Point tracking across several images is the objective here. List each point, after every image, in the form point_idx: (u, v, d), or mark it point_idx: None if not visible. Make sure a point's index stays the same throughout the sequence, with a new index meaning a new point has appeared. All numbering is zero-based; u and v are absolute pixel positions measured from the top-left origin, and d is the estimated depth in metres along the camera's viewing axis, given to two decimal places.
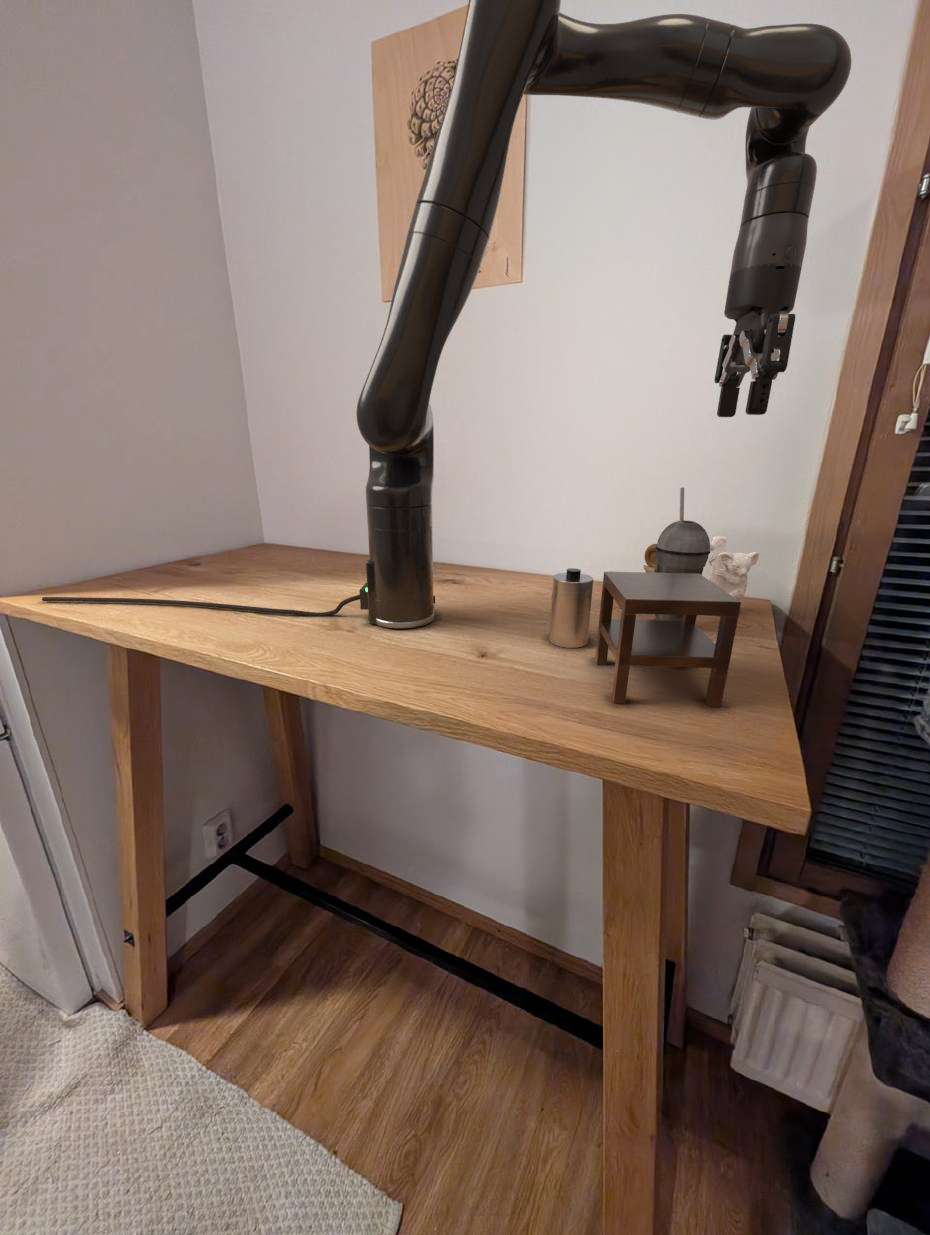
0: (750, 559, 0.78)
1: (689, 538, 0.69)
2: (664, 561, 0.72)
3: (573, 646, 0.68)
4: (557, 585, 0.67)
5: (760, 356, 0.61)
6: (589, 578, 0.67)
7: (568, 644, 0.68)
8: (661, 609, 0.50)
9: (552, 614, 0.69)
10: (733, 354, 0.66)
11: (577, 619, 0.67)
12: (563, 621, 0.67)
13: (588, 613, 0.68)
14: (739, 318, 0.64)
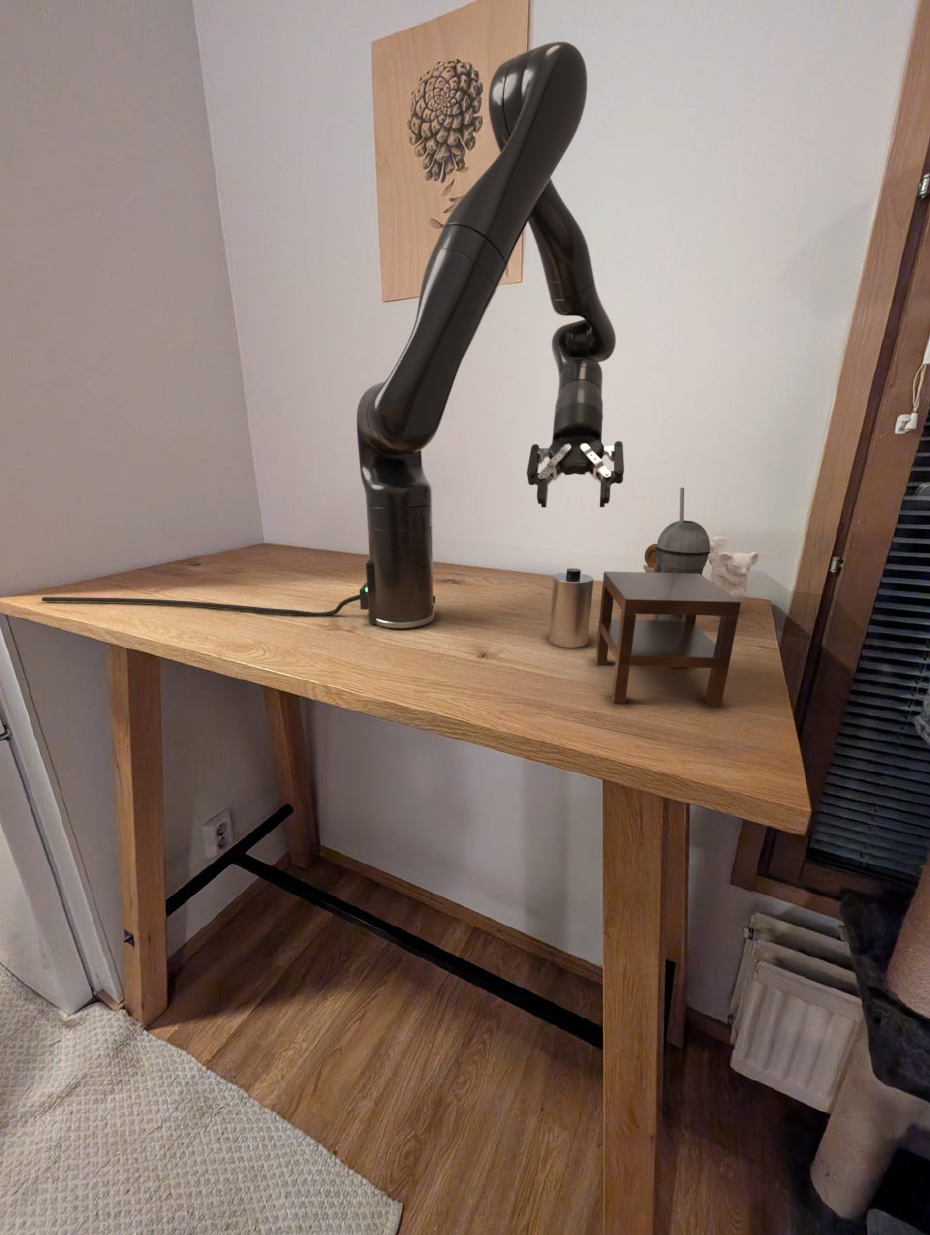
0: (750, 559, 0.78)
1: (689, 538, 0.69)
2: (664, 561, 0.72)
3: (573, 646, 0.68)
4: (557, 585, 0.67)
5: None
6: (589, 578, 0.67)
7: (568, 644, 0.68)
8: (661, 609, 0.50)
9: (552, 614, 0.69)
10: (563, 458, 0.78)
11: (577, 619, 0.67)
12: (563, 621, 0.67)
13: (588, 613, 0.68)
14: (566, 436, 0.79)
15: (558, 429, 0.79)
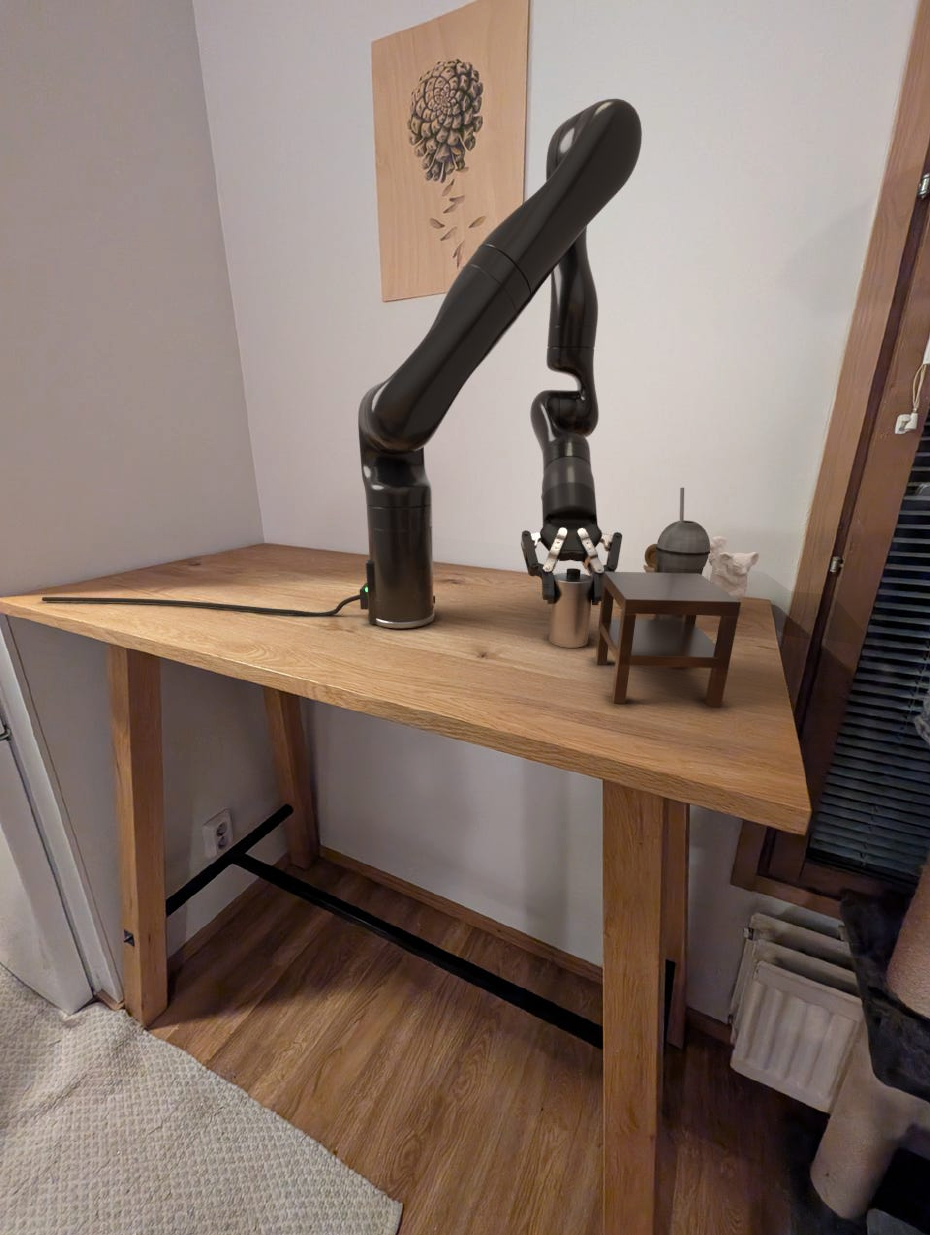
0: (750, 559, 0.78)
1: (689, 538, 0.69)
2: (664, 561, 0.72)
3: (573, 646, 0.68)
4: (557, 585, 0.67)
5: None
6: (589, 578, 0.67)
7: (568, 644, 0.68)
8: (661, 609, 0.50)
9: (552, 614, 0.69)
10: None
11: (577, 619, 0.67)
12: (563, 621, 0.67)
13: (588, 613, 0.68)
14: (560, 518, 0.71)
15: (552, 510, 0.70)
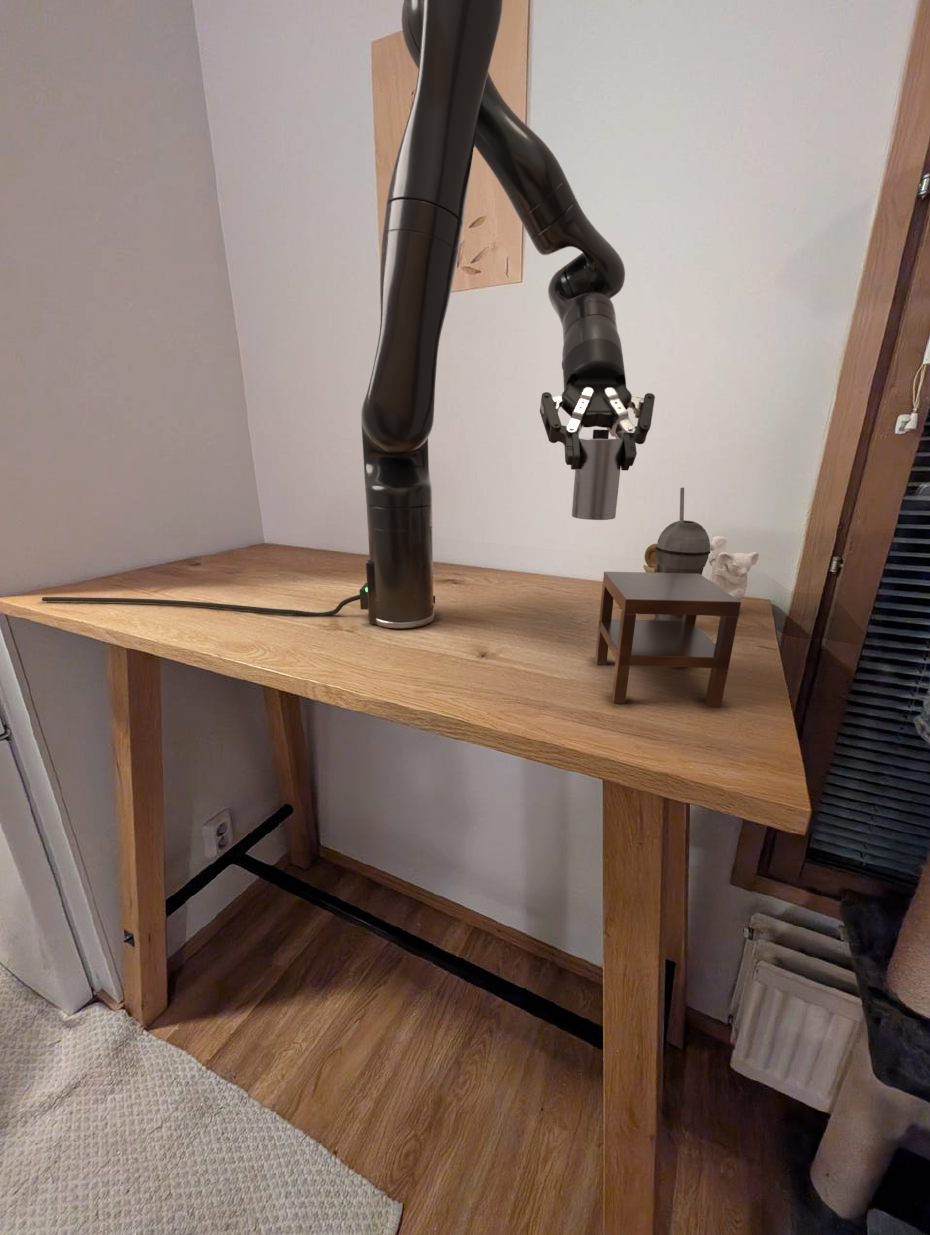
0: (750, 559, 0.78)
1: (689, 538, 0.69)
2: (664, 561, 0.72)
3: (600, 518, 0.60)
4: (583, 445, 0.59)
5: None
6: None
7: (594, 515, 0.60)
8: (661, 609, 0.50)
9: (576, 483, 0.61)
10: None
11: (605, 484, 0.59)
12: (589, 487, 0.60)
13: (617, 479, 0.60)
14: (584, 379, 0.63)
15: (575, 369, 0.62)
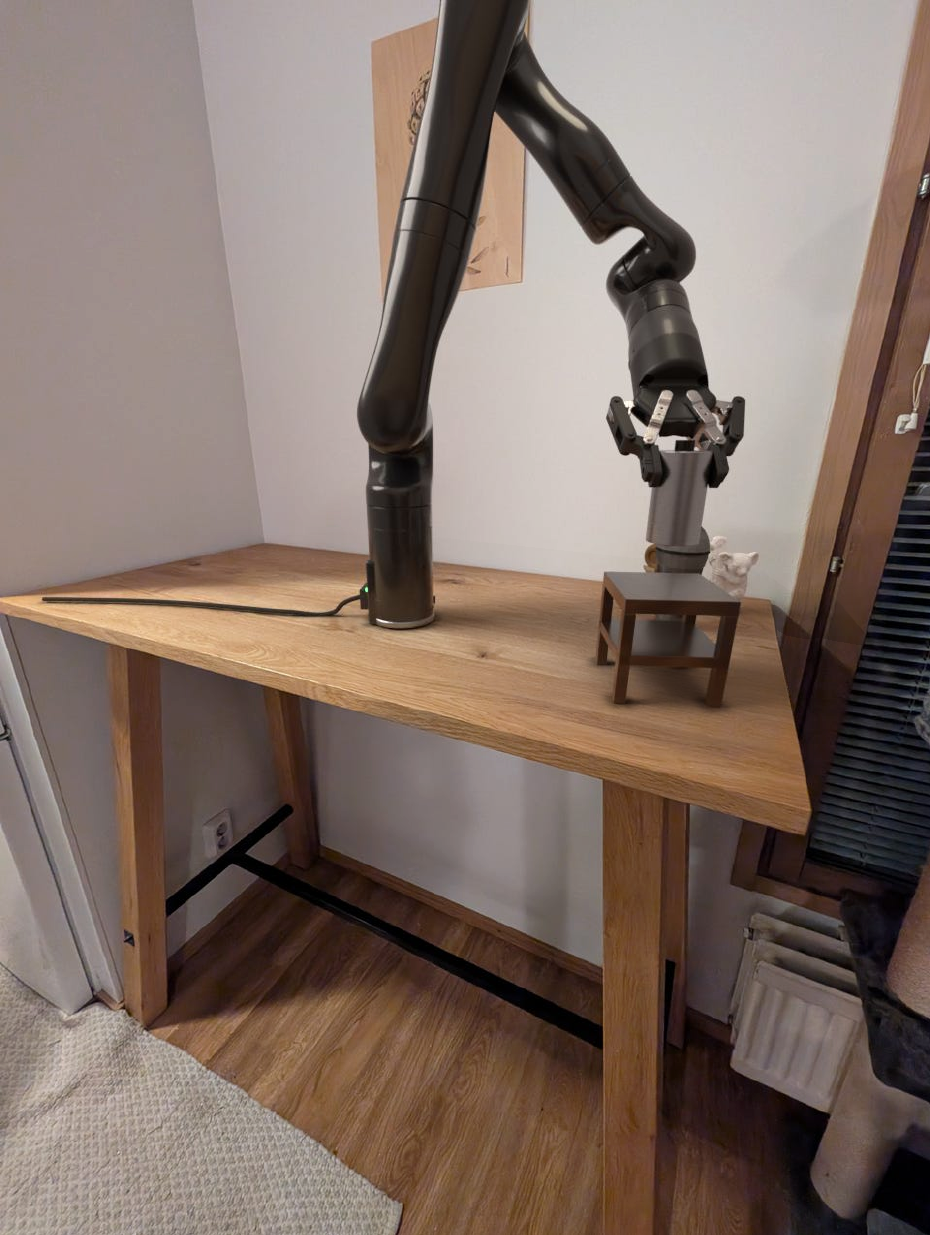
0: (750, 559, 0.78)
1: None
2: (664, 561, 0.72)
3: (683, 544, 0.51)
4: (665, 459, 0.50)
5: None
6: None
7: (677, 541, 0.51)
8: (661, 609, 0.50)
9: (654, 503, 0.52)
10: None
11: (692, 505, 0.50)
12: (671, 508, 0.50)
13: (704, 498, 0.51)
14: (660, 381, 0.54)
15: (651, 369, 0.53)
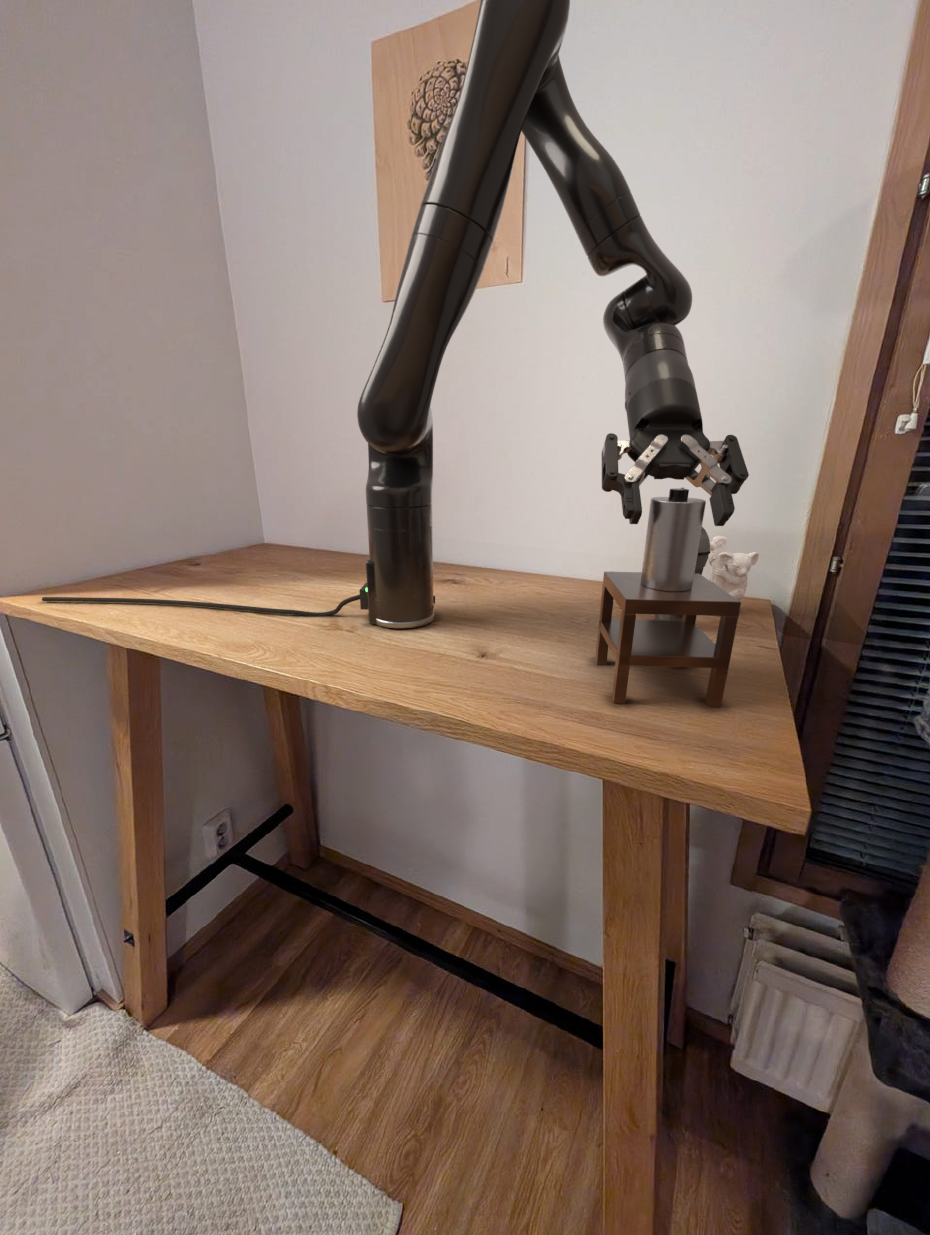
0: (750, 559, 0.78)
1: None
2: None
3: (677, 589, 0.53)
4: (659, 508, 0.51)
5: None
6: (700, 500, 0.52)
7: (671, 587, 0.53)
8: (661, 609, 0.50)
9: (649, 549, 0.53)
10: (658, 454, 0.54)
11: (685, 553, 0.52)
12: (665, 555, 0.52)
13: (697, 546, 0.52)
14: (656, 424, 0.55)
15: (646, 413, 0.55)
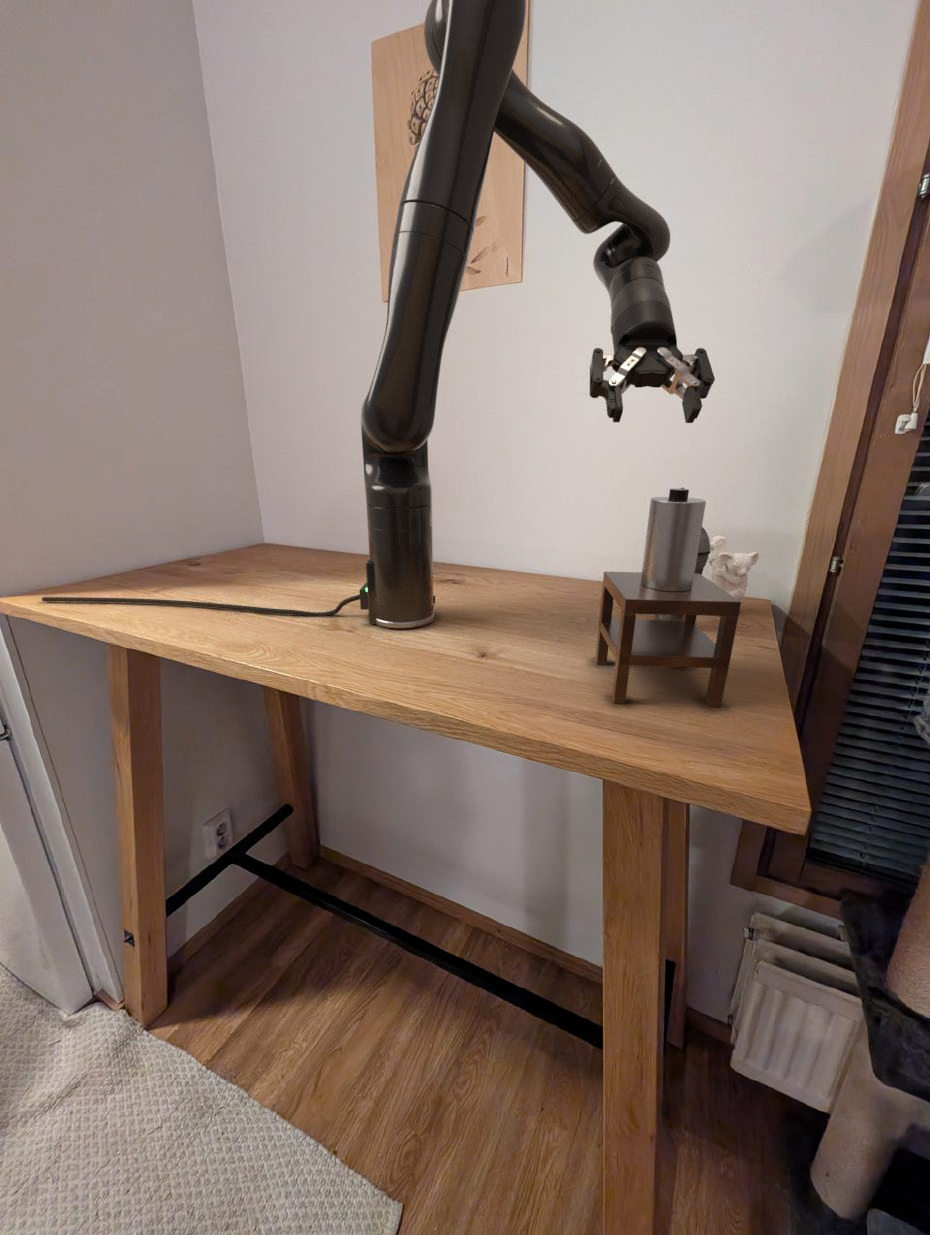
0: (750, 559, 0.78)
1: None
2: None
3: (677, 589, 0.53)
4: (659, 508, 0.51)
5: None
6: (700, 500, 0.52)
7: (671, 587, 0.53)
8: (661, 609, 0.50)
9: (649, 549, 0.53)
10: (637, 363, 0.62)
11: (685, 553, 0.52)
12: (665, 555, 0.52)
13: (697, 546, 0.52)
14: (636, 340, 0.64)
15: (628, 330, 0.63)
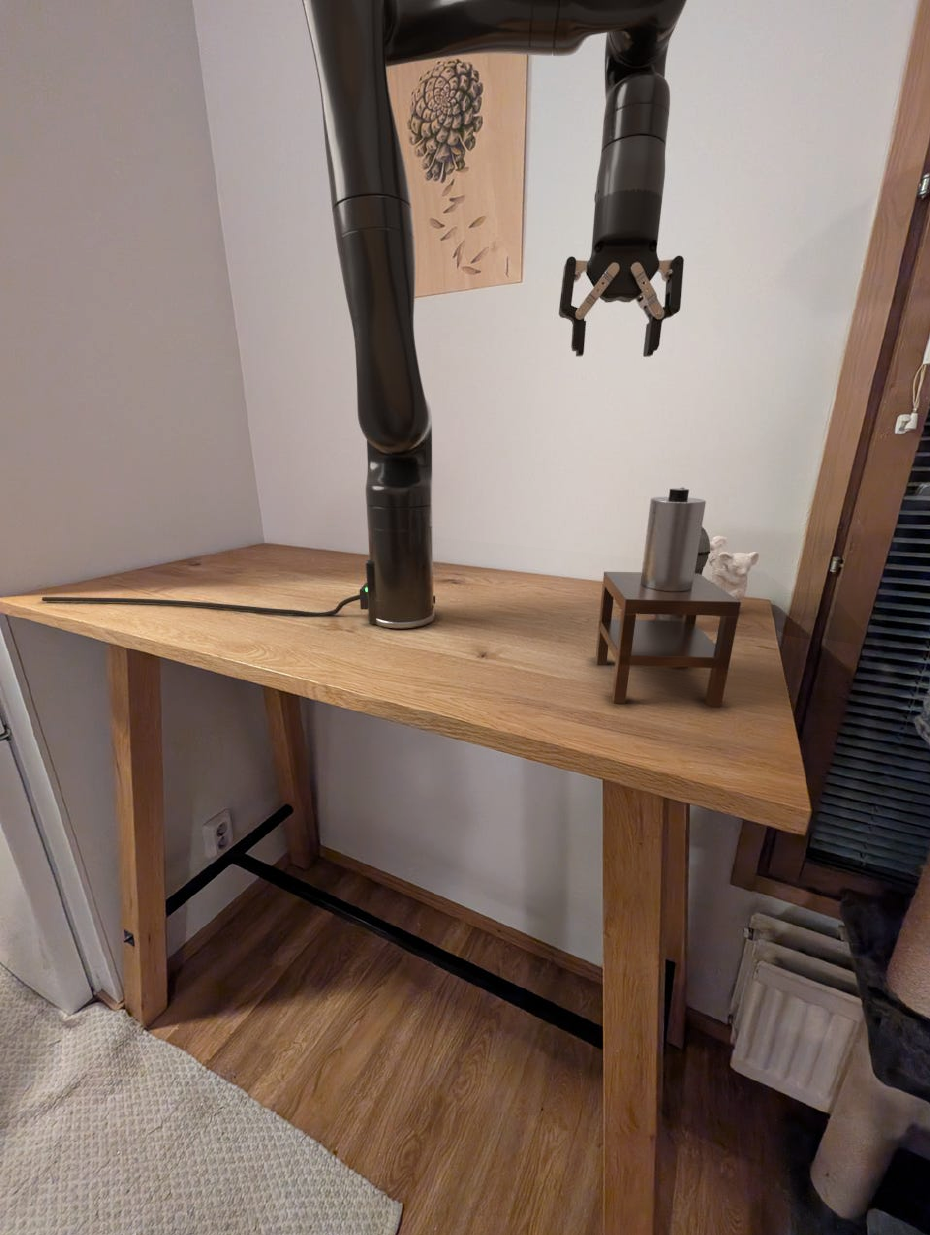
0: (750, 559, 0.78)
1: None
2: None
3: (677, 589, 0.53)
4: (659, 508, 0.51)
5: None
6: (700, 500, 0.52)
7: (671, 587, 0.53)
8: (661, 609, 0.50)
9: (649, 549, 0.53)
10: (608, 285, 0.61)
11: (685, 553, 0.52)
12: (665, 555, 0.52)
13: (697, 546, 0.52)
14: (613, 245, 0.60)
15: (605, 236, 0.59)
